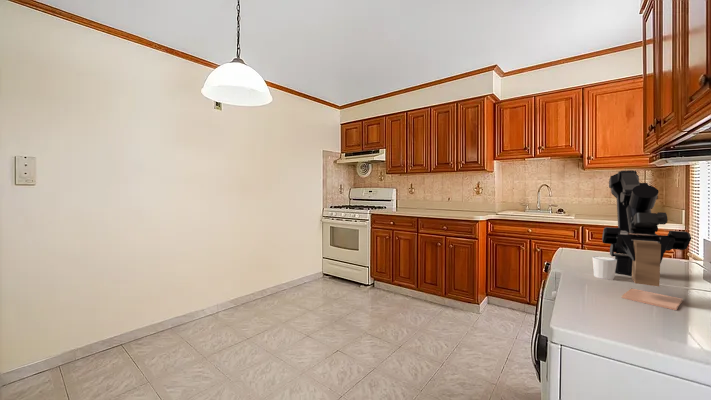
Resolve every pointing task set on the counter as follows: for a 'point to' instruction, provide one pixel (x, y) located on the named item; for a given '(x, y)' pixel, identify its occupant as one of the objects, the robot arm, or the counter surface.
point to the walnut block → (646, 262)
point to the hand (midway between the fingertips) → (647, 261)
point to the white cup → (604, 267)
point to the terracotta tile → (653, 298)
